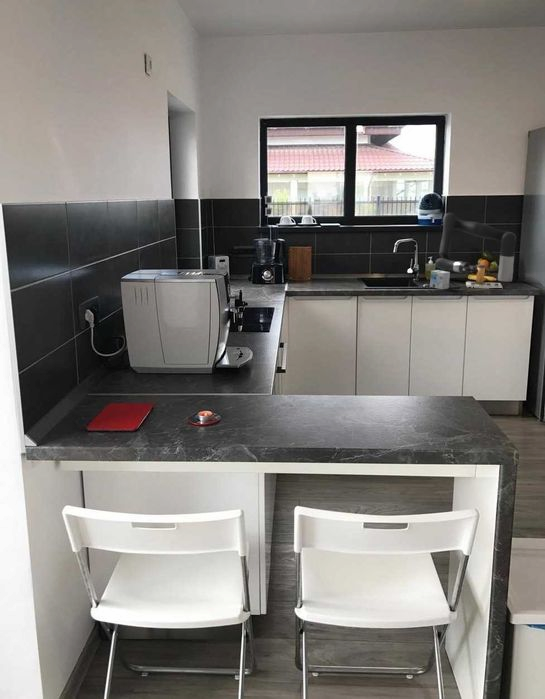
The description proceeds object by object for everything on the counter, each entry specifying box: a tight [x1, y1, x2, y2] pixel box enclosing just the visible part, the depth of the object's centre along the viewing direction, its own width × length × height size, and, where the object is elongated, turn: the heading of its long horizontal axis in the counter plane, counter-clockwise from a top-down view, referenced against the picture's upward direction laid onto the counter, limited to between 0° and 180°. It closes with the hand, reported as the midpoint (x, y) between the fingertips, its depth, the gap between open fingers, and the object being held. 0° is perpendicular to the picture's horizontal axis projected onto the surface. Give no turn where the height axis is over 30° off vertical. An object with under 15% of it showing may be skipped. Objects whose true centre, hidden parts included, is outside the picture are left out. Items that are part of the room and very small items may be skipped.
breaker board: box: [465, 281, 503, 289], centre depth 451 cm, size 22×14×3 cm, turn 78°
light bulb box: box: [429, 269, 451, 290], centre depth 443 cm, size 11×7×11 cm, turn 37°
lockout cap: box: [475, 263, 486, 284], centre depth 451 cm, size 5×5×12 cm
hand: (481, 270), depth 450 cm, fingers open, 8 cm apart
